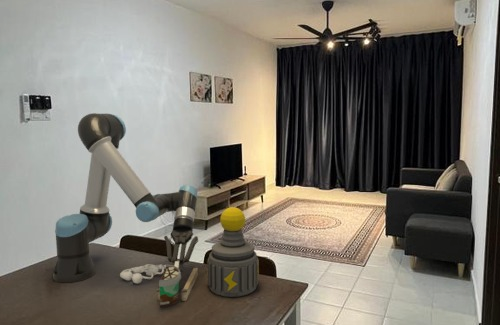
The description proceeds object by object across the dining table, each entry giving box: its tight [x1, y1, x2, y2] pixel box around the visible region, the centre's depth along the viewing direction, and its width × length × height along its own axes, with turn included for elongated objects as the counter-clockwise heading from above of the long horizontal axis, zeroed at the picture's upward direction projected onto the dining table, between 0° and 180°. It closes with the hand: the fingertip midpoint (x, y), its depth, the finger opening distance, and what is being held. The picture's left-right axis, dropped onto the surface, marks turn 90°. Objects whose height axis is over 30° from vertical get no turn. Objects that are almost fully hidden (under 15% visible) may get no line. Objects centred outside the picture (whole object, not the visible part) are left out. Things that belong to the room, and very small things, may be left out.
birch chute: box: [156, 267, 198, 302], centre depth 143 cm, size 10×22×4 cm, turn 178°
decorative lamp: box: [206, 206, 260, 298], centre depth 142 cm, size 19×19×30 cm
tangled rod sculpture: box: [119, 263, 167, 284], centre depth 155 cm, size 19×14×4 cm
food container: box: [158, 264, 182, 308], centre depth 131 cm, size 12×6×10 cm, turn 1°
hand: (175, 280), depth 136 cm, fingers closed
